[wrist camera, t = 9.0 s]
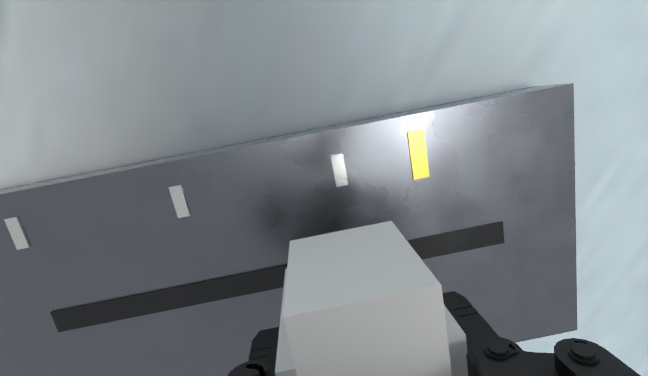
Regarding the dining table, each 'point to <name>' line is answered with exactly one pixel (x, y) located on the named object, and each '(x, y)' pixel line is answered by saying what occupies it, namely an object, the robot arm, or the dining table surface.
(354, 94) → the dining table surface
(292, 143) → the fader console
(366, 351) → the fader knob
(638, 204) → the dining table surface
